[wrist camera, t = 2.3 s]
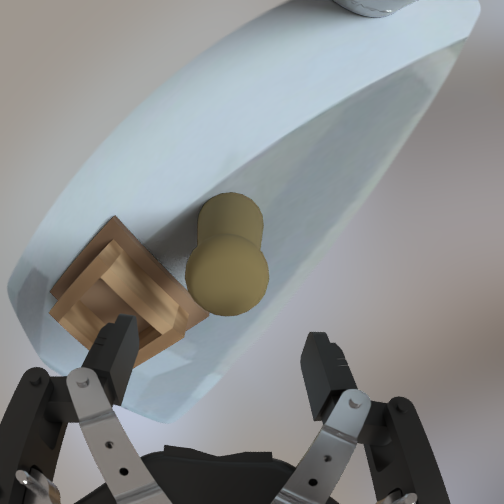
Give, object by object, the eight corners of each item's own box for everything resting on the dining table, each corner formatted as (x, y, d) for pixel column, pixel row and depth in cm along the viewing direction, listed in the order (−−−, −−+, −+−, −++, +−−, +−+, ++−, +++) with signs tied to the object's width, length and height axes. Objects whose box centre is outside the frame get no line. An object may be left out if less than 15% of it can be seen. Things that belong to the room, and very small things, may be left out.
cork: (184, 216, 26) (152, 277, 16) (239, 179, 24) (240, 220, 14) (222, 265, 28) (215, 344, 18) (275, 233, 27) (297, 302, 17)
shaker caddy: (52, 288, 28) (34, 309, 24) (115, 215, 25) (95, 232, 21) (132, 360, 33) (124, 386, 29) (209, 311, 30) (206, 340, 26)
